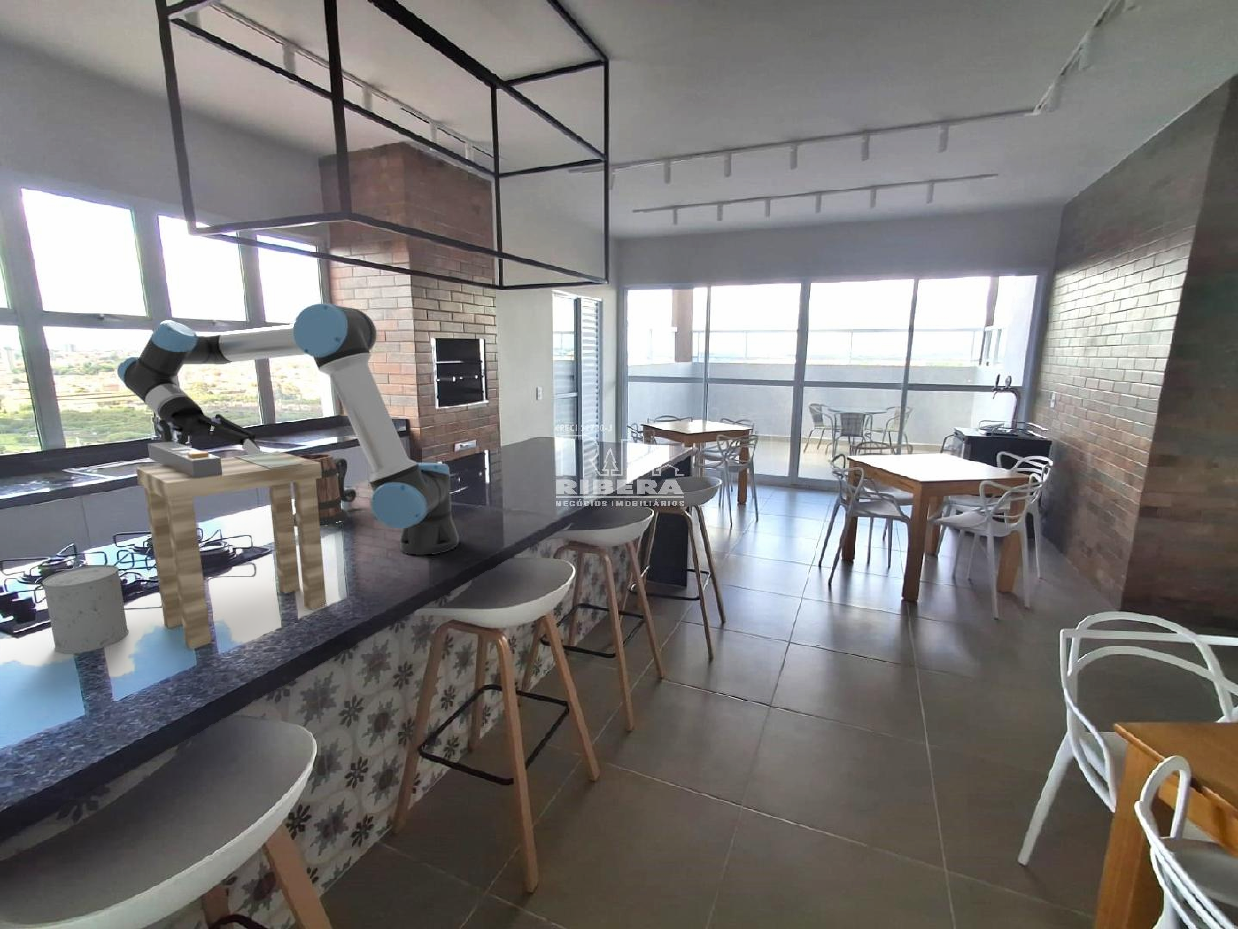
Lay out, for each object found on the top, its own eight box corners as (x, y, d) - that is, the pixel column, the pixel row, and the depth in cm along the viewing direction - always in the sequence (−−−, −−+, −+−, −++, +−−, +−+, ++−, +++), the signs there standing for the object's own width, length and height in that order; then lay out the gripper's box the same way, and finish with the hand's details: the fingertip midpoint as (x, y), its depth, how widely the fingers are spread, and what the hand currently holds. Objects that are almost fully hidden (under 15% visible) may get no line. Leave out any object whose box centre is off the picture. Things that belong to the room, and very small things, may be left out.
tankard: (320, 529, 161) (315, 462, 157) (274, 524, 166) (268, 458, 162) (375, 509, 183) (371, 450, 180) (333, 504, 188) (329, 447, 184)
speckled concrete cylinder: (55, 639, 98) (42, 573, 95) (126, 622, 104) (116, 560, 102) (54, 660, 91) (41, 591, 89) (130, 640, 98) (120, 575, 95)
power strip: (149, 458, 107) (147, 440, 107) (174, 456, 110) (172, 438, 110) (194, 478, 92) (191, 457, 91) (222, 474, 95) (220, 454, 94)
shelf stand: (158, 622, 105) (135, 466, 99) (293, 583, 123) (280, 451, 118) (190, 653, 94) (166, 481, 88) (332, 606, 113) (320, 461, 107)
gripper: (223, 414, 141) (279, 467, 138) (108, 427, 118) (172, 490, 115) (232, 391, 138) (289, 444, 136) (116, 399, 115) (182, 464, 112)
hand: (236, 466), depth 125 cm, fingers open, 13 cm apart
